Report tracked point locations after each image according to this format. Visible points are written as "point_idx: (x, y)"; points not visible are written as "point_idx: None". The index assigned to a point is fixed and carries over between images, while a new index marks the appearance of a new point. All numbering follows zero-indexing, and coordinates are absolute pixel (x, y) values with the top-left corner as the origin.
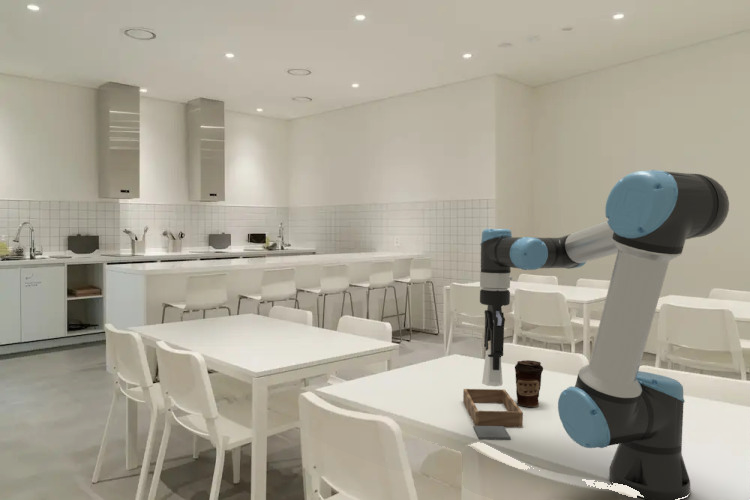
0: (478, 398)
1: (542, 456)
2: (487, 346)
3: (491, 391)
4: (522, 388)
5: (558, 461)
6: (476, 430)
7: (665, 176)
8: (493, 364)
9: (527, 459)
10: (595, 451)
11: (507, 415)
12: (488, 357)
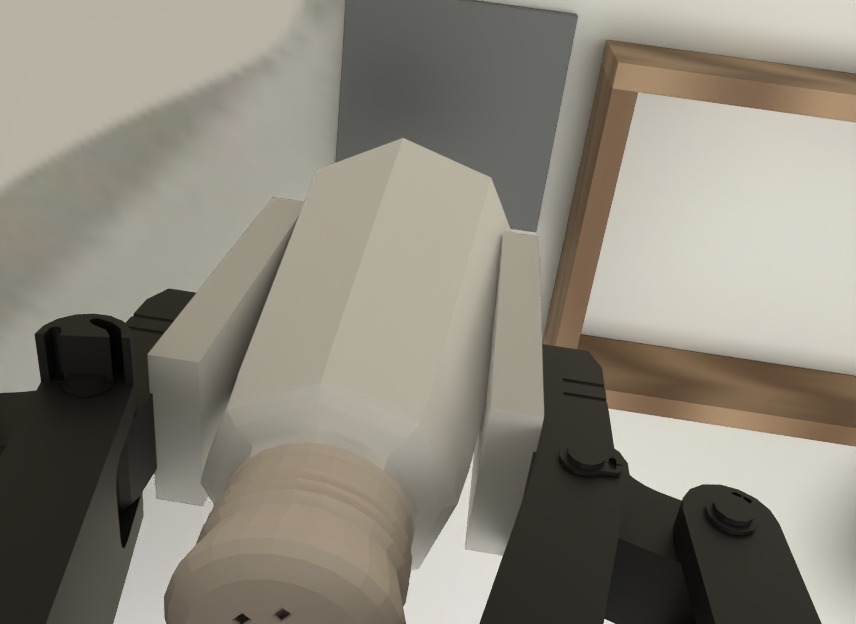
0: None
1: (101, 273)
2: (524, 501)
3: None
4: None
5: (48, 320)
6: (475, 8)
7: None
8: (135, 325)
9: (48, 179)
10: (191, 522)
11: (562, 293)
12: (267, 344)
